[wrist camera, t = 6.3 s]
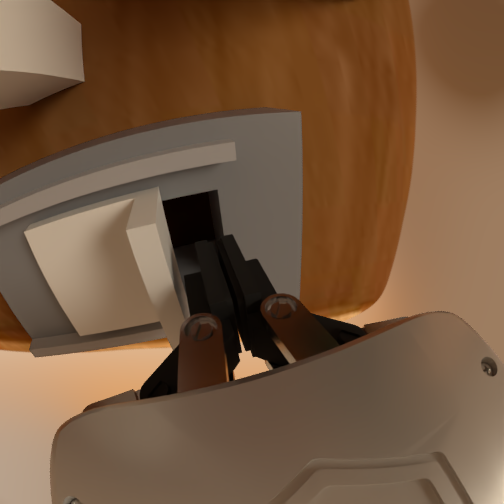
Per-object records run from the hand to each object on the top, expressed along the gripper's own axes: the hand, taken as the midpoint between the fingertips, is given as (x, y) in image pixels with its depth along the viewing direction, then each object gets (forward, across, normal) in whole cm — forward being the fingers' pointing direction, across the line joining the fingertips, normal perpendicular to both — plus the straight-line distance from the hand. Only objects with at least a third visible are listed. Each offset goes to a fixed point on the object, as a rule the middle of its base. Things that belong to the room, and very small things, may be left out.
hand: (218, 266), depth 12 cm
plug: (+7, +8, -12) cm, 16 cm away
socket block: (+7, +5, 0) cm, 8 cm away
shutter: (+2, +5, 0) cm, 6 cm away
